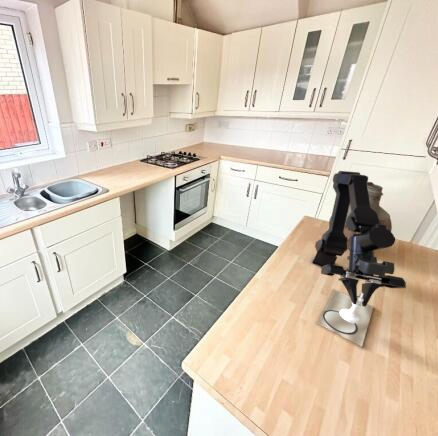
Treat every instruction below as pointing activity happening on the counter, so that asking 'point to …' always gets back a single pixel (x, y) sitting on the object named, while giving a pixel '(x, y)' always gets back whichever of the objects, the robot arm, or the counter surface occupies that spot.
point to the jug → (374, 198)
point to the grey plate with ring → (340, 325)
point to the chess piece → (352, 311)
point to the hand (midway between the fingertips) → (359, 305)
